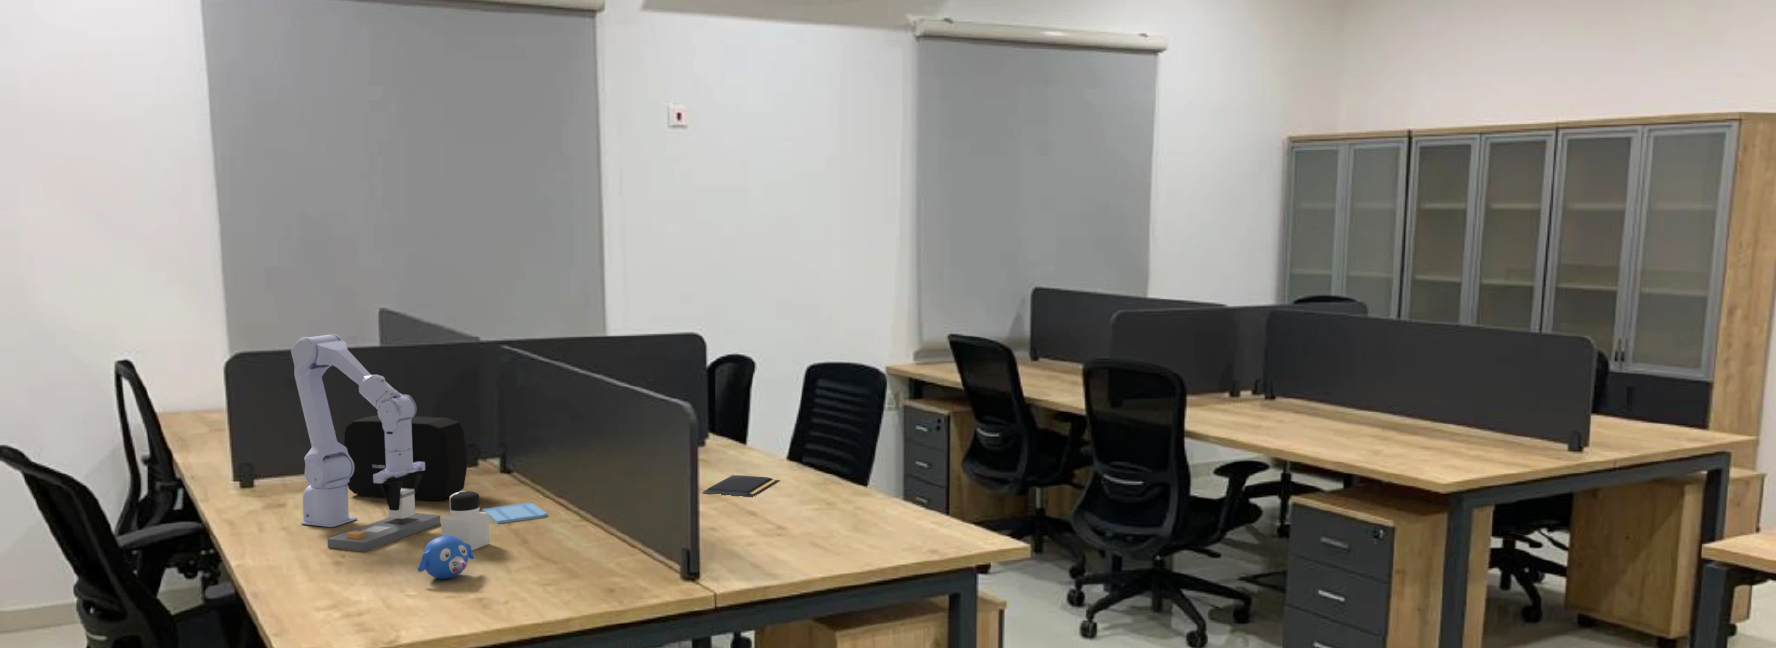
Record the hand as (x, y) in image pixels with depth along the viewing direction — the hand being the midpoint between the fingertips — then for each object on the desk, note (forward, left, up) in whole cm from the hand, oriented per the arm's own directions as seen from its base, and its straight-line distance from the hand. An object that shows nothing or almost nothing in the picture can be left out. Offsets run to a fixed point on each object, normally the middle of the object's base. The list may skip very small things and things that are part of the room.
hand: (401, 507), depth 267 cm
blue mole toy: (+35, -27, -5) cm, 45 cm away
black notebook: (+56, +63, -6) cm, 84 cm away
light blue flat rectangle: (+16, +20, -6) cm, 26 cm away
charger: (0, 0, -2) cm, 2 cm away
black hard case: (-22, +29, -5) cm, 37 cm away
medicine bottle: (+23, -7, -5) cm, 25 cm away
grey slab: (0, -5, -5) cm, 7 cm away
